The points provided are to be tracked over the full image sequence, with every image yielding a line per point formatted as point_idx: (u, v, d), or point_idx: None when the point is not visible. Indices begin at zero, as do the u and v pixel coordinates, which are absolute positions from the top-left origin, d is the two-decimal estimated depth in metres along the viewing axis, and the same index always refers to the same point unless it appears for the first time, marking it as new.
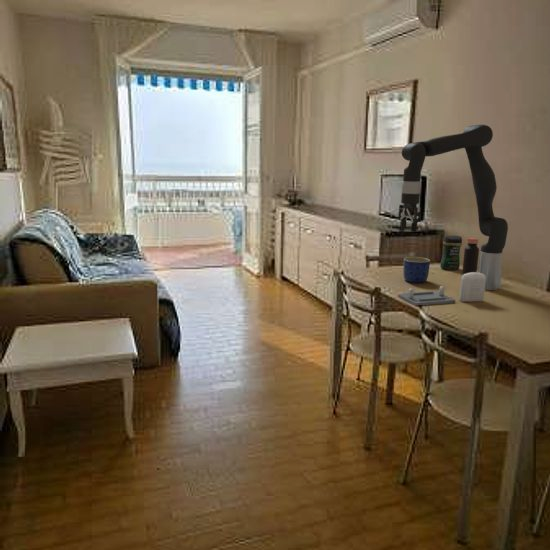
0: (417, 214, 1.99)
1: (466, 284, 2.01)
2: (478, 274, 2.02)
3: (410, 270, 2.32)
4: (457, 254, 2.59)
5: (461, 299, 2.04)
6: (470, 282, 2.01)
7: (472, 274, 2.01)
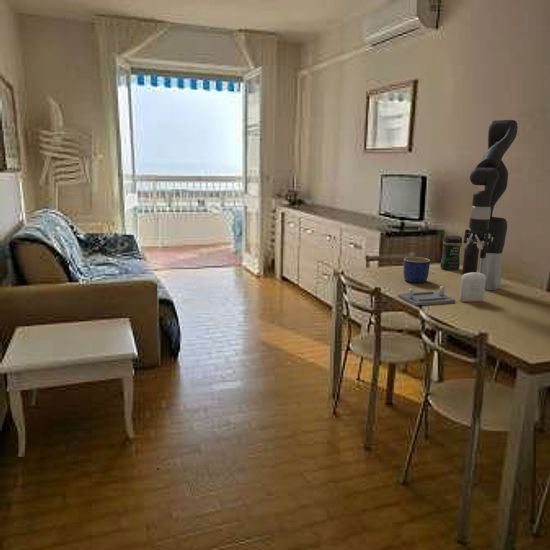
0: (488, 241, 1.92)
1: (466, 284, 2.01)
2: (478, 274, 2.02)
3: (410, 270, 2.32)
4: (457, 254, 2.59)
5: (461, 299, 2.04)
6: (470, 282, 2.01)
7: (472, 274, 2.01)
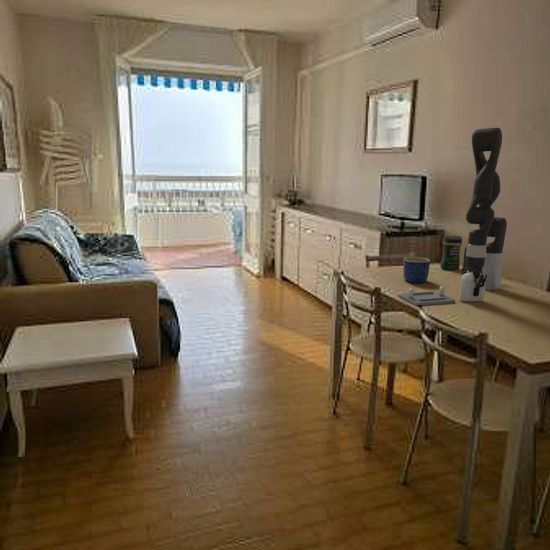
0: (482, 281, 1.97)
1: (466, 284, 2.01)
2: None
3: (410, 270, 2.32)
4: (457, 254, 2.59)
5: (461, 299, 2.03)
6: (470, 282, 2.01)
7: None
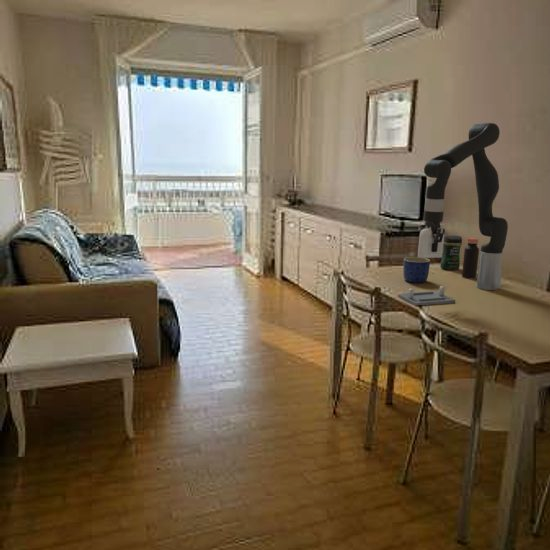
0: (439, 235, 1.94)
1: (424, 239, 1.98)
2: None
3: (410, 270, 2.32)
4: (457, 254, 2.59)
5: (420, 255, 2.00)
6: (428, 237, 1.97)
7: None
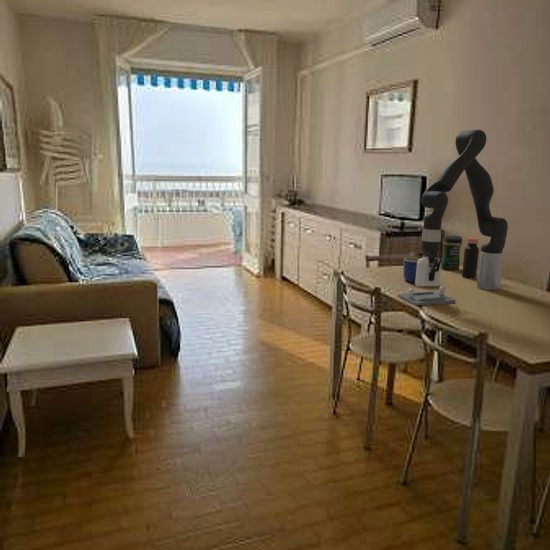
0: (436, 265, 1.97)
1: (422, 268, 2.01)
2: None
3: (410, 270, 2.32)
4: (457, 254, 2.59)
5: (417, 284, 2.03)
6: (425, 266, 2.00)
7: None
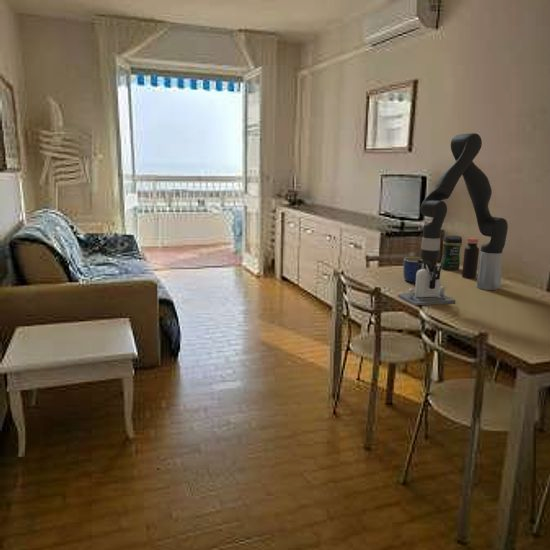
0: (436, 273, 1.97)
1: (421, 280, 2.02)
2: None
3: (410, 270, 2.32)
4: (457, 254, 2.59)
5: (417, 295, 2.04)
6: (425, 278, 2.02)
7: (426, 270, 2.02)
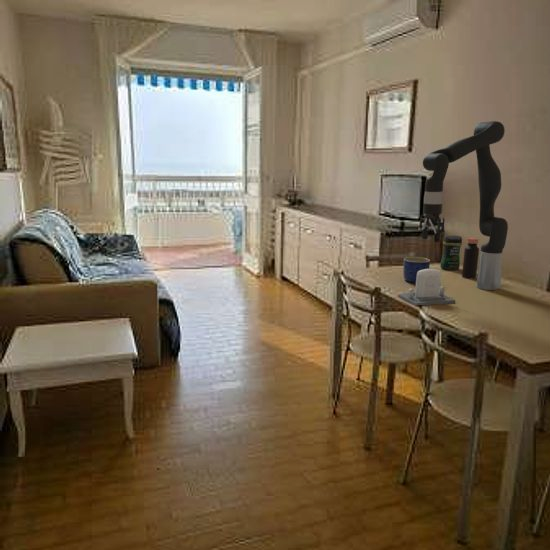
0: (440, 225, 1.97)
1: (421, 280, 2.02)
2: (433, 270, 2.02)
3: (410, 270, 2.32)
4: (457, 254, 2.59)
5: (417, 295, 2.04)
6: (425, 278, 2.02)
7: (427, 270, 2.02)
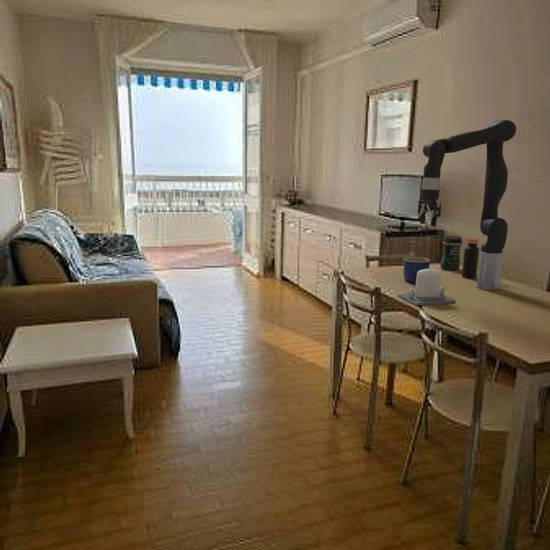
0: (437, 209, 2.06)
1: (421, 280, 2.02)
2: (433, 270, 2.02)
3: (410, 270, 2.32)
4: (457, 254, 2.59)
5: (417, 295, 2.04)
6: (425, 278, 2.02)
7: (427, 270, 2.02)
